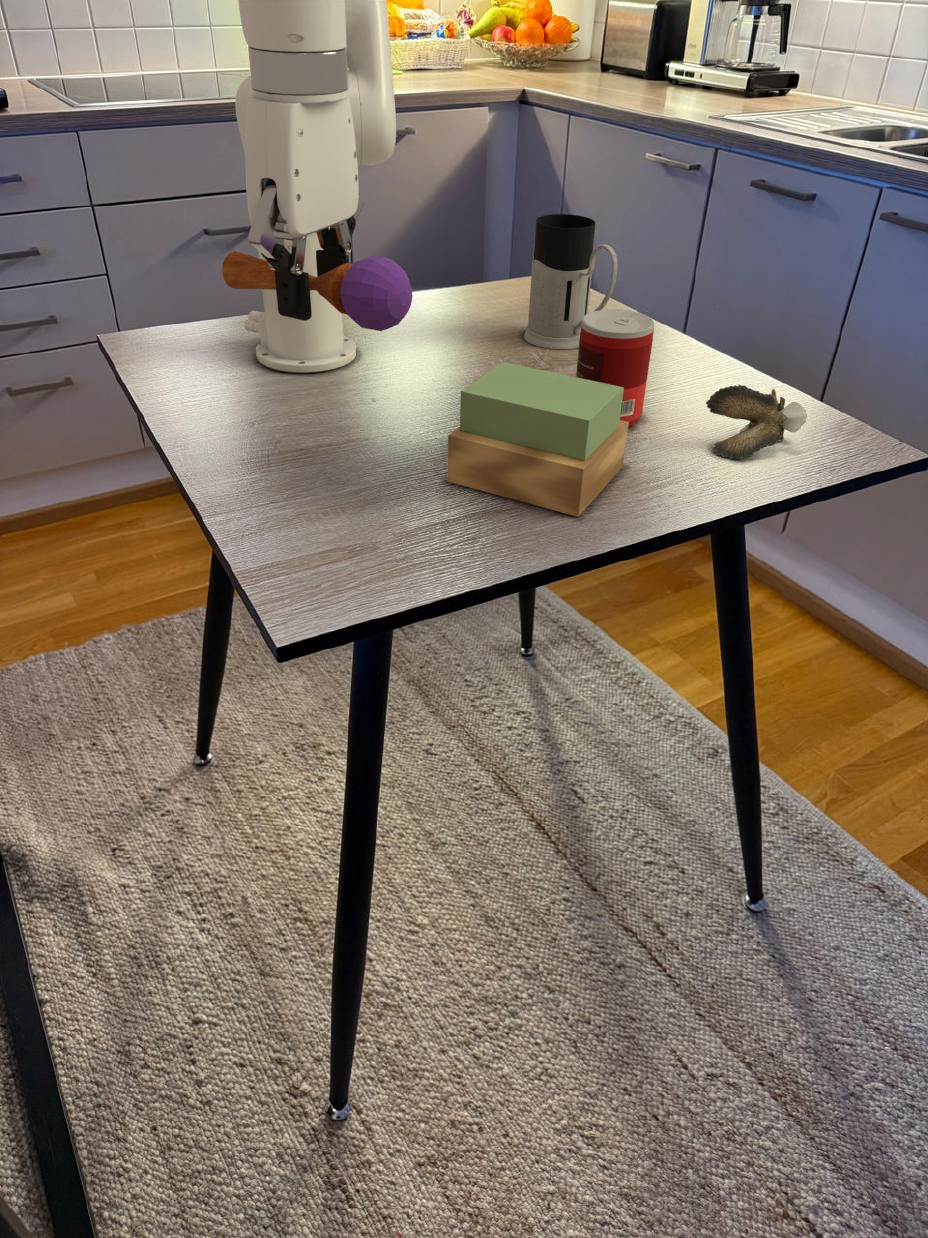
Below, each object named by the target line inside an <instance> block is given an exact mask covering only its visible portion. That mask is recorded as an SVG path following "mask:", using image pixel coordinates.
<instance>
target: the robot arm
mask: <svg viewBox="0 0 928 1238" xmlns="http://www.w3.org/2000/svg"><path fill="white" fill-rule="evenodd" d="M238 7H239V8H238V9H239V16H240V24H241V28H242V33H243V37H244V39H245V42H246V44H247V52H248V62H249V73H250V75H248V76H246V78H245V79H243V80H242V82H241V83H240V85H239V86H238V88H237V91H236V94H235V102H234V103H235V116H236V122H237V127H238V131H239V135H240V141H241V142H242V143H241V144H242V147H243V152H244V167H245V169H244V171H245V186H246V187H245V189H246V191H245V192H246V202H247V203H246V204H247V213H248V219H249V225H250V229H249V232H248V235H247V240H248V243H249V244H250V245H251V246H252V247H253V248H254V249H255V250H256V251H257V253H258V258H260V259H263V260H266V261H268V262H269V268H270V269H271V270H274V272H275V283H276V290H271V289H261V292H262V302H263V311H264V312H262V311H258V310H251V311H250V312H249V314H248V317H247V319H246V320H245V321H244V330H245V331H247V332H251V333H258V334H259V339H260V342H259V343H258V344H257V345H256V347H255V355H256V359H257V361H258V362H259V363H260V364H261V365H263V366H264V367H266V368H270V369H272V370H275V371H279V372H286V373H298V374H300V373H301V374H303V373H304V374H306V373H309V374H310V373H321V372H327V371H332V370H335V369H336V370H337V369H339V368H342V367H344V366H346V365H348V364H350V363H351V362H352V361H354V359H355V358H356V357H357V345H356V343H355V342H354V341H353V340H352V339H351V338H349V337H347V336H345V335H344V325H343V314H342V313H340V312H339V311H338V310H337V309H336V308H335V307H333V306H332V305H331V304H330V303H329V302H328V301H327V300H326V299H325V298H324V297H323V296H322V295H321V294H319V293H318V292H317V291H316V290H310V284H309V275H312V276H315V277H319V276H321V275H323V274H325V273H327V272H329V271H331V270H333V269H335V268H337V267H339V266H341V265H343V264H346V263H350V255H349V254H351V252H352V250H353V241H352V237H353V235H354V232H355V229H356V225H357V221H358V218H359V216H360V213H361V212H362V210H363V208H364V199H363V198H362V195H361V194H360V192H359V187H360V186H359V167H370V166H371V167H373V166H378V165H382V164H384V163H386V162H387V161H388V160H389V159H390V158H391V157H392V156H393V153H394V151H395V148H396V140H397V116H396V115H397V114H396V98H395V87H394V74H393V61H392V50H391V49H392V48H391V37H390V36H391V35H390V22H389V13H388V3H387V0H238Z"/></svg>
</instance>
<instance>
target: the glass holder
mask: <svg viewBox="0 0 928 1238" xmlns="http://www.w3.org/2000/svg"><path fill="white" fill-rule="evenodd" d="M595 231H596V221H595V220H594V219H593V218H590V217H587V216H584V215H583V216H582V215H578V214H567V213H553V214H545V215H540V216H538V217H536V220H535V233H534V235H535V236H534V244H533V247H532V257H531V258H532V259H531V273H530V274H531V276H530V288H529V303H528V305H529V307H528V319H527V320H528V321H527V329H526V330H525V332H524V334H523V338H524V340H525V341H526V342H527V343H529V344H531V345H533V346H535V347H539V348H543V349H549V350H571V349H573V350H574V349H579V340H580V332H581V323H582V318H583V317H584V316H585V315H586V314H588V313H589V306H590V296H591V295H590V293H591V287H592V286H591V285H592V274H593V272H594V269H595V263H596V258H597V255H598V253H599V251H600V250H601V249H602V248H603V249H605V250H606V251H607V252H608V254H609V255H610V257H611V258H610V259H611V262H612V264H611V275H610V281H609V284H608V288H607V291H606V294H605V295H604V297H603V299H602V301H601V302H600V304H599V305H598V306H597V307H596V308H595V309H594V310H593V311H592V312H594V311H599V310H604V308H605V307H606V305H607V303H608V302H609V300H610V299H611V296H612V294H613V292H614V289H615V284H616V282H617V276H618V268H619V267H618V263H619V260H618V257H617V253H616V252H615V250H614V248H613V247H611V246H610V245H608V244H606V243H605V244H604V243H603V244H599V245H597V246H595V248H594V244H595V243H594V242H595V233H596V232H595Z"/></svg>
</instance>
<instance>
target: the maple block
mask: <svg viewBox="0 0 928 1238" xmlns="http://www.w3.org/2000/svg"><path fill="white" fill-rule="evenodd" d="M628 425H629V422H626V421H622V420H620V422H619V426H618V427H617V428H616V429H615V430H614V432H613V433H612V434H611V435H610V436H609V437H608V438H607V439H606V440H605V441H604V442H603V443H602V444H601V445H600V446H599V447H598V448H597V449H596V450H595V451H594V452H593V453H592V454H591V455H590V456H589V457H588V458H587V459H586V460H585V461H583V460H578V459H574V458H570V457H566V456H562V455H558V454H554V453H550V452H546V451H542V450H538V449H534V448H530V447H526V446H522V445H518V444H514V443H509V442H505V441H501V440H497V439H493V438H489V437H485V436H481V435H477V434H473V433H469V432H465V431H461V430H460V426H458V427H457V428H456V429H454V430H453V431H451V432H450V433H449V434H447V478H446V479H447V480H446V481H447V482H448V483H451V484H454V485H460V486H461V487H466V488H468V489H469V488H470V489H474V490H477V491H481V492H484V493H487V494H492V495H494V496H495V495H496V496H500V497H502V498H507V499H510V500H514V501H518V502H522V503H526V504H529V505H532V506H537V507H540V508H542V509H544V508H545V509H547V510H551V511H555V512H559V513H561V514H566V515H569V516H574V517H576V518H579V517H580V516H581V515H582V514H583V513H584V512H585V510H586V509H587V508H588V507H589V506H590V505H591V503H592V502H593V501H595V499H596V498H597V497H598V495H599V494H601V492H602V491H603V490H604V489H605V487H607V486H608V484H609V483H610V482H611V481H612V480H613V479H614V478H615V477H616V476H617V474H618V473H619V472H620V471H621V470H622V469H623V468H624V461H625V456H626V455H625V454H626V446H627V439H628V432H629V427H628Z"/></svg>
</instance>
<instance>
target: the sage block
mask: <svg viewBox="0 0 928 1238" xmlns="http://www.w3.org/2000/svg"><path fill="white" fill-rule="evenodd" d="M623 391H624V387H619V386H615V385H610V384H605V383H600V382H596V381H591V380H586V379H582V378H577V377H576V376H572V375H567V374H563V373H558V372H553V371H548V370H543V369H538V368H534V367H529V366H525V365H519V364H515V363H511V362H504V361H502V362H500V363H499V364H497V365H496V366H495V367H493V368H491V369H490V370H489V371H487V372H486V373H485V374H484V375H482V376H480V377H479V378H477V379H476V380H475V381H473V382H471V383H470V384H469V385H467V386H466V387H465V388H463V389H462V390H460V409H459V410H460V412H459V414H460V417H459V418H460V419H459V427H460V430H461V431H465V432H469V433H473V434H477V435H481V436H485V437H489V438H493V439H497V440H501V441H505V442H509V443H514V444H518V445H522V446H526V447H530V448H534V449H538V450H542V451H546V452H550V453H554V454H558V455H562V456H566V457H570V458H574V459H578V460H583V461H585V460H586V459H587V458H588V457H589V456H590V455H591V454H592V453H593V452H594V451H595V450H596V449H597V448H598V447H599V446H600V445H601V444H602V443H603V442H604V441H605V440H606V439H607V438H608V437H609V436H610V435H611V434H612V433H613V432H614V430H615V429H616V428H617V427H618V426H619V422H620V414H621V407H622V399H623Z"/></svg>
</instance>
